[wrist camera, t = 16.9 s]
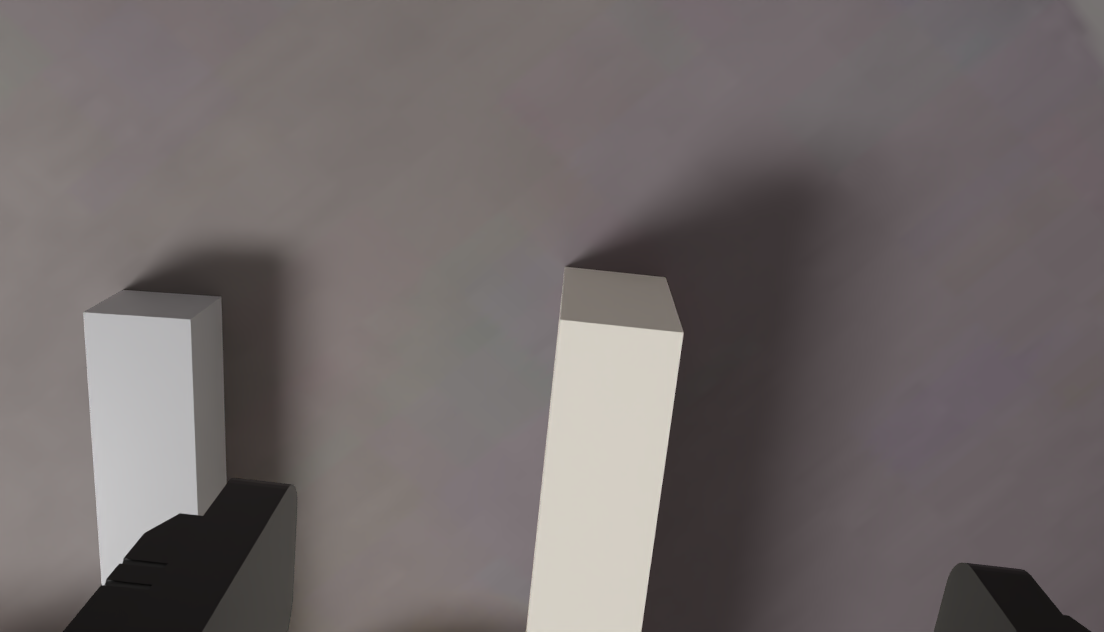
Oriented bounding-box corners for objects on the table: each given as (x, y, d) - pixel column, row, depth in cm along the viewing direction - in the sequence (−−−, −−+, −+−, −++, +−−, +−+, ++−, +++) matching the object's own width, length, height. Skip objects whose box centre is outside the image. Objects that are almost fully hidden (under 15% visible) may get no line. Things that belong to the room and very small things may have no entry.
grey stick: (127, 286, 27) (83, 312, 24) (225, 293, 27) (190, 319, 24) (152, 734, 30) (115, 794, 28) (237, 740, 30) (208, 800, 28)
